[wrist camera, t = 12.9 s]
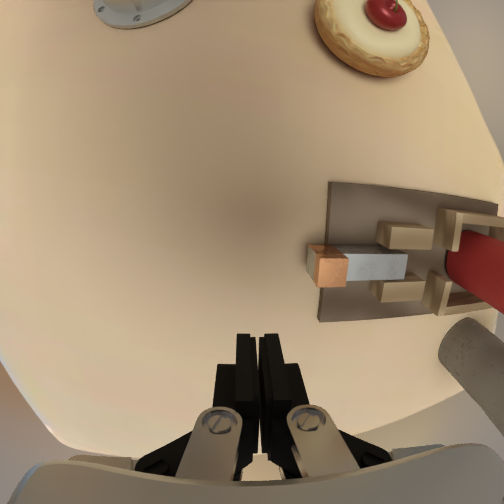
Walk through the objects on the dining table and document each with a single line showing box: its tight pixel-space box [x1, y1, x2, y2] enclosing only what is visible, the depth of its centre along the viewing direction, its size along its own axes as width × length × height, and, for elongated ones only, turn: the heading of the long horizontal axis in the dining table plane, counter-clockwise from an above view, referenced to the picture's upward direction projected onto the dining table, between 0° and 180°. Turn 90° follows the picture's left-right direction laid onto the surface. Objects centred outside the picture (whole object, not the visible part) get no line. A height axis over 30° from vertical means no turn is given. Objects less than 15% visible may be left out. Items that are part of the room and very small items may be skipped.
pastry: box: [314, 0, 430, 77], centre depth 18 cm, size 12×12×9 cm
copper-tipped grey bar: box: [306, 245, 408, 287], centre depth 25 cm, size 2×9×4 cm, turn 89°
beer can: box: [446, 230, 504, 314], centre depth 22 cm, size 7×7×12 cm
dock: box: [317, 182, 504, 322], centre depth 26 cm, size 14×24×4 cm, turn 89°
